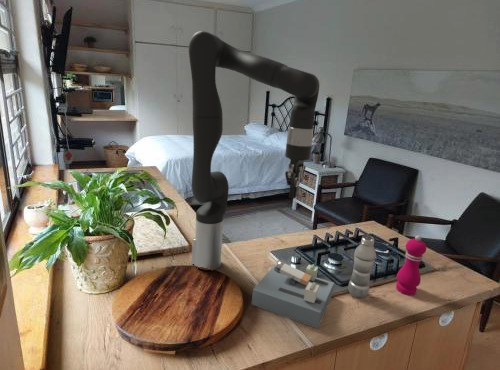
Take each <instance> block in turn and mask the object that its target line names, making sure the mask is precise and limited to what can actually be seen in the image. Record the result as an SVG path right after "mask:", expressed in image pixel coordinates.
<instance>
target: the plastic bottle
mask: <svg viewBox="0 0 500 370" xmlns="http://www.w3.org/2000/svg"><path fill="white" fill-rule="evenodd" d="M374 245H375V238H374V237H373V236H370V235H362V237H361V240H360V244H359V245H358V246H357V247H356V248H355V250H354V258H353V259H354V260H353V261H354V262H353V269H352V274H351V277H350V279H349V281H348V285H347V286H348V287H347V288H348V293H349V295H351V297H353V298H356V299H365V298H366V297H367V296H368V294H369V293H370V279H371V273H372V269H373V265H374V263H375V260H376V257H377V254H376V250H375V248H374Z"/></svg>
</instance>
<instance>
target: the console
mask: <svg viewBox="0 0 500 370" xmlns="http://www.w3.org/2000/svg"><path fill="white" fill-rule="evenodd" d="M276 266H277V264H274V265H273V266H272V267H271V268H270V269H269V270H268V271H267V273H266V274H265V275H264V276H263V277H262V278H261V280H260V281H259V282H258V283H257V284H256V285H255V286H254V288H253V289H252V295H251V296H252V298H251V305H252V306H256V307H257V308H260V309H264V310H266V311H268V312H271V313H274V314H277V315H280V316H283V317H285V318H288V319H289V320H290V319H291V320H293V321H295V322H296V321H297V322H299V323H302V324H305V325H308V326H310V327H313V328H316V329H319V326H320V324H321V322H322V319H323V318H324V315H325V312H326V311H327V308H328V306H329V304H330V302H331V300H332V297H333V293H334V285H335V282H334V281H333V282H332V281H330V280H326V279H324V278H320V277H318V276H317V277H316V279H315V281H312V280H309V282H310V283H313V282H315V284H317V285H319V291H318V297H317V298H316V300H315V302H314V303H312V302H309V301H306V300H304V294H305V288H306V287H307V285H308V284H307V285H304V284H302V283H300V282H298V281H296V280H294V279H292V278H290V277H288V276H286V275H284V274H282V273H280V272H279V271H280V270H277V269H276ZM309 282H308V283H309Z"/></svg>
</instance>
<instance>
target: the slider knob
mask: <svg viewBox="0 0 500 370" xmlns="http://www.w3.org/2000/svg"><path fill="white" fill-rule="evenodd" d="M318 291H319V285H317V284H315V282H313V283H310V282H309V283H308V285H307V287H306V288H305V294H304V300H306V301H309V302H312V303H314V302H315V300H316V298H317V297H318Z"/></svg>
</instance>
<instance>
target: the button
mask: <svg viewBox="0 0 500 370" xmlns="http://www.w3.org/2000/svg"><path fill="white" fill-rule="evenodd" d="M284 264H287V261H286V260H284V259H278V260H277V261H276V265H277V266H276V269H277V270H280V269H281V267H282V266H283V265H284Z"/></svg>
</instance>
